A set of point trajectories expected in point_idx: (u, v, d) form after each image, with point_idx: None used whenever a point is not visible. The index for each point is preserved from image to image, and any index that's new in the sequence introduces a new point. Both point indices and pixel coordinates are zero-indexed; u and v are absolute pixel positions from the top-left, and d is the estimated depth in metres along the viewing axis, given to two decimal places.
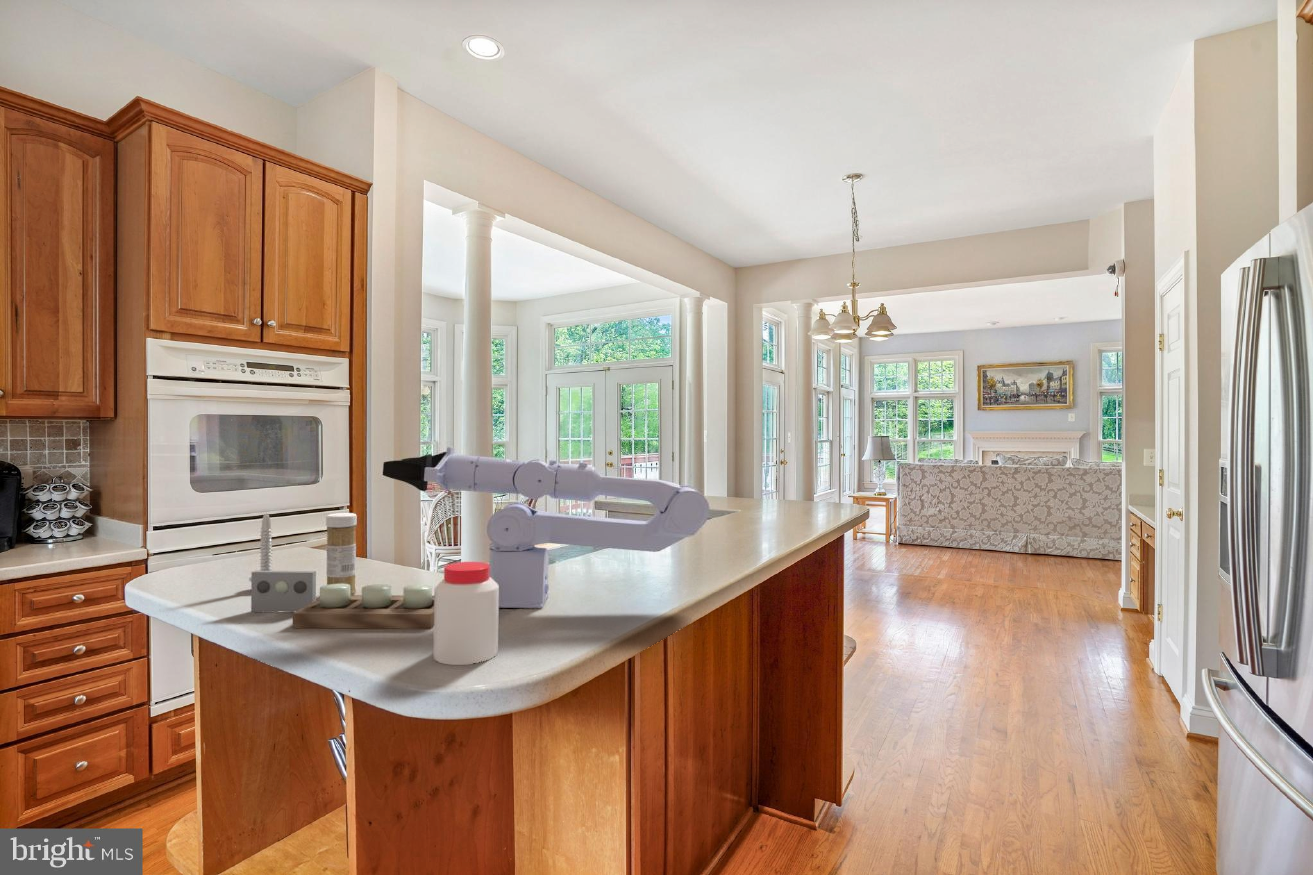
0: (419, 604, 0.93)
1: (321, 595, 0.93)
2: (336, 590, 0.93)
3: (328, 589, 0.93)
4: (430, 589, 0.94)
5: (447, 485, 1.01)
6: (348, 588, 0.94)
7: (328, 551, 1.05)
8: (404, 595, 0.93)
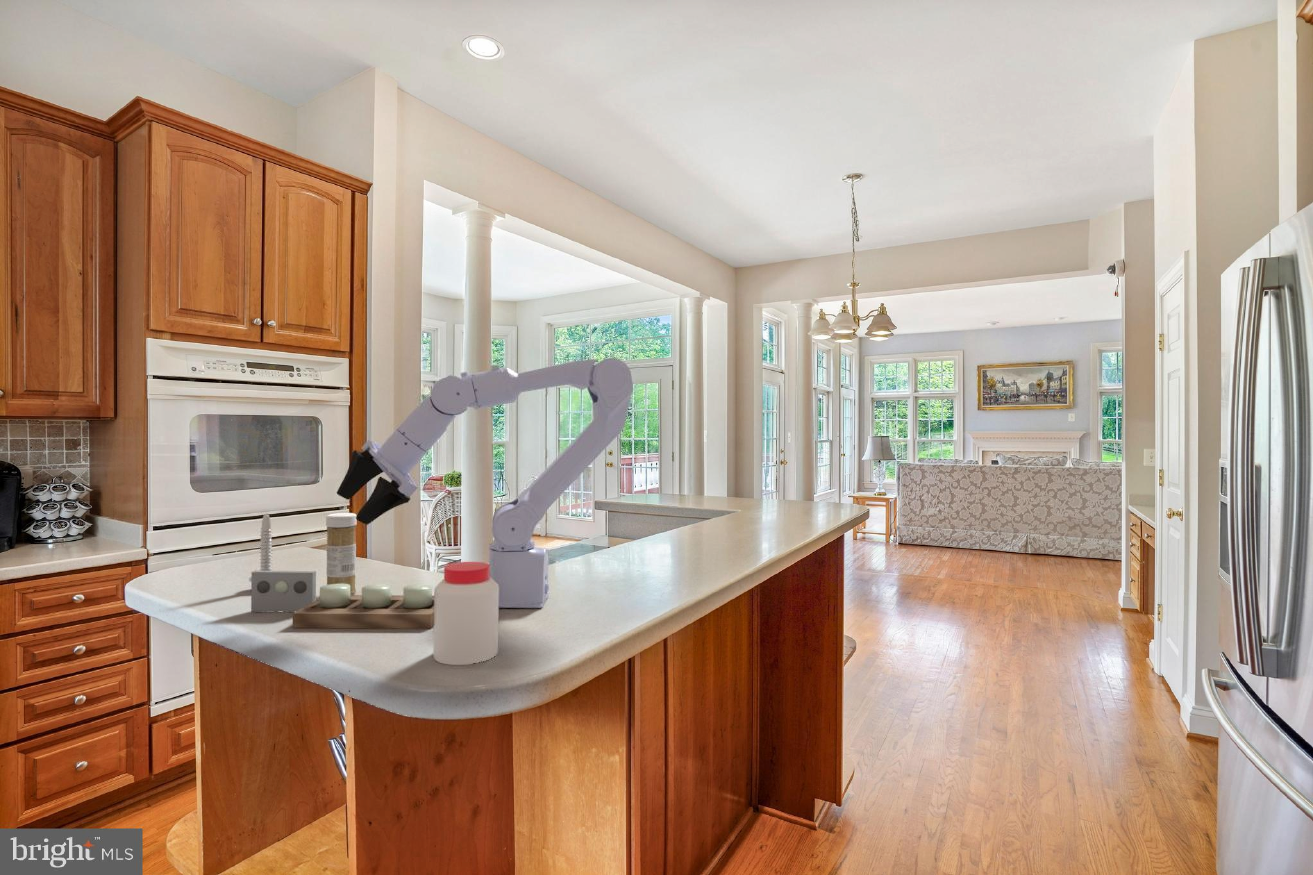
0: (419, 604, 0.93)
1: (321, 595, 0.93)
2: (336, 590, 0.93)
3: (328, 589, 0.93)
4: (430, 589, 0.94)
5: (408, 472, 1.00)
6: (348, 588, 0.94)
7: (328, 551, 1.05)
8: (404, 595, 0.93)
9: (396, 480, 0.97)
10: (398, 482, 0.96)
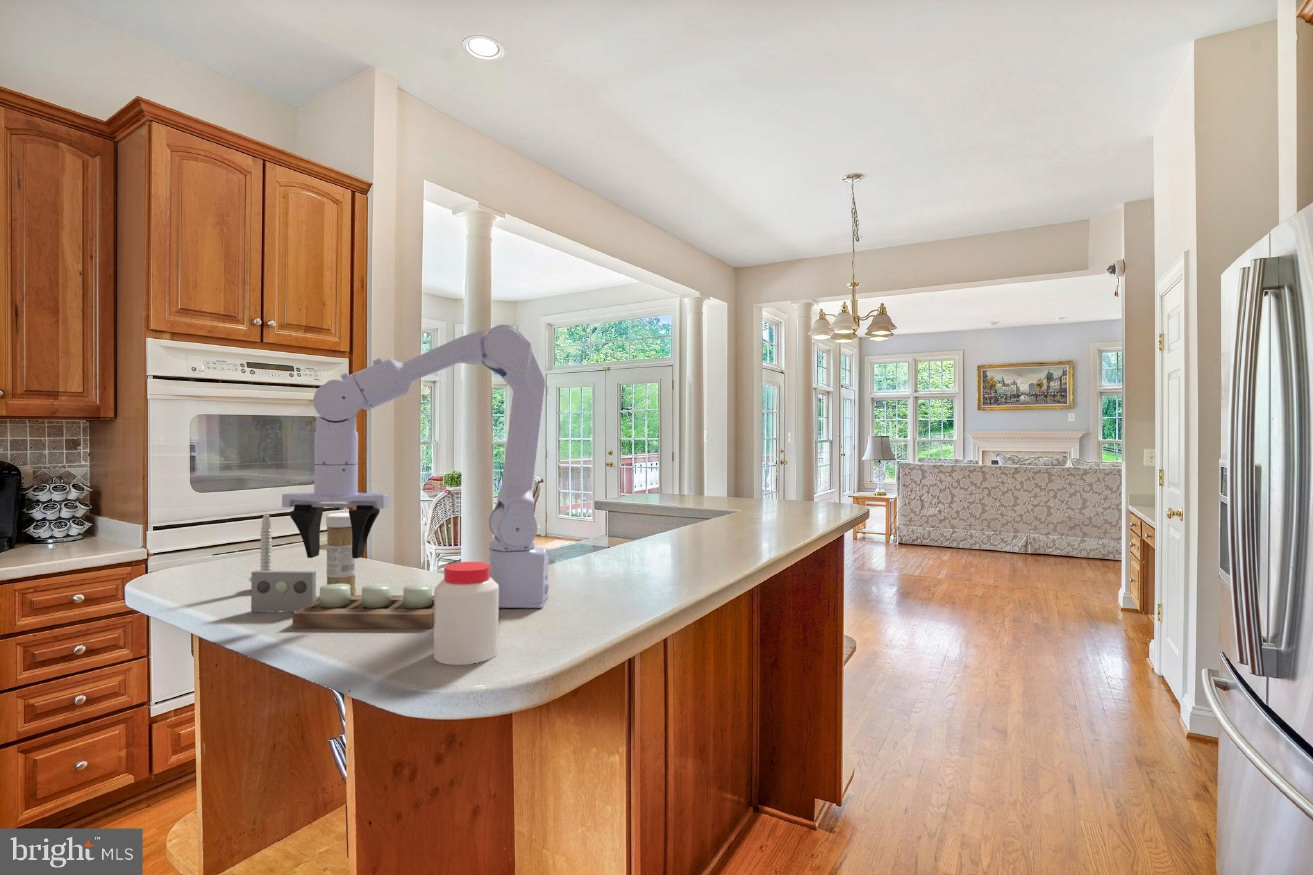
0: (419, 604, 0.93)
1: (321, 595, 0.93)
2: (336, 590, 0.93)
3: (328, 589, 0.93)
4: (430, 589, 0.94)
5: None
6: (348, 588, 0.94)
7: (328, 551, 1.05)
8: (404, 595, 0.93)
9: (362, 504, 0.94)
10: (367, 503, 0.94)
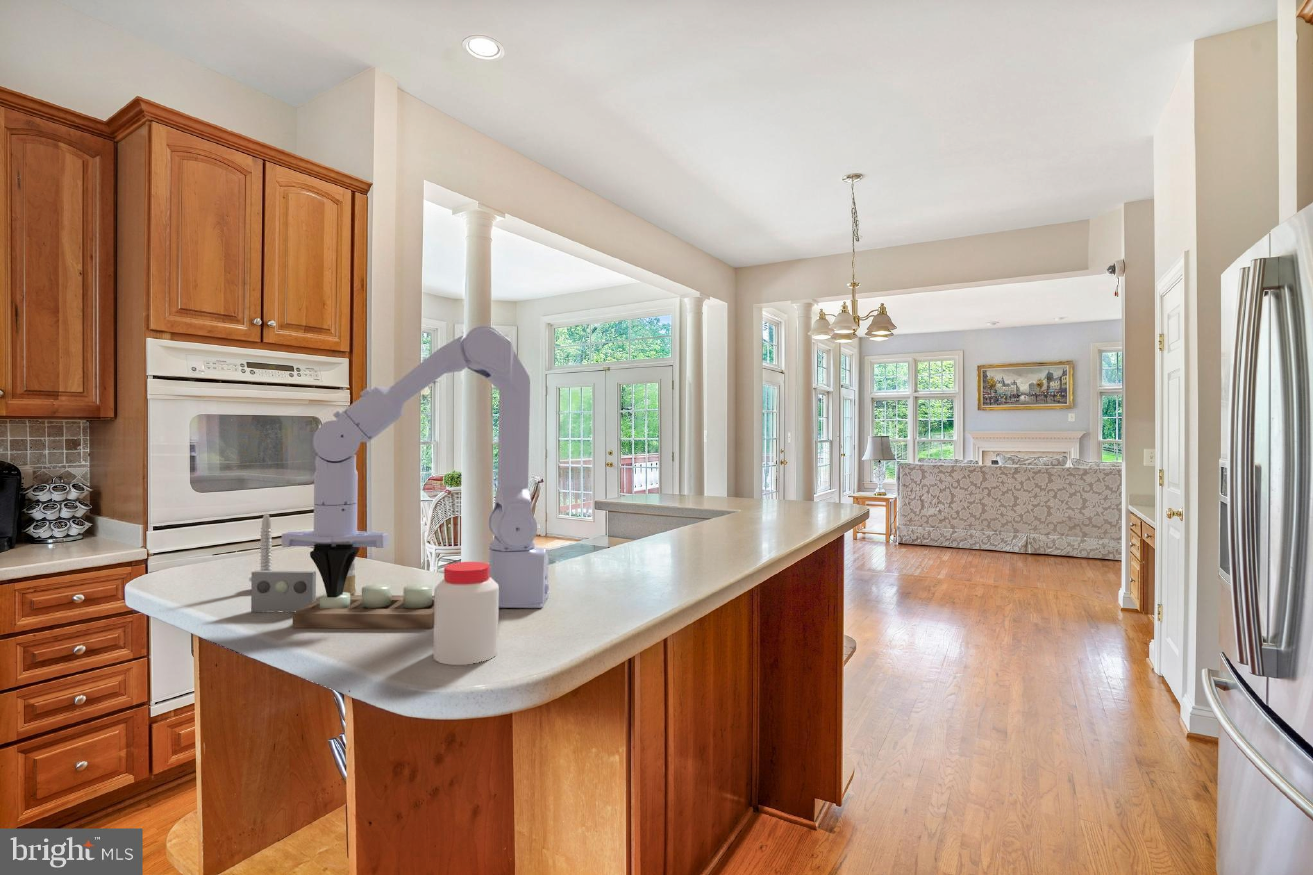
0: (419, 604, 0.93)
1: (321, 604, 0.93)
2: (336, 599, 0.93)
3: (328, 598, 0.93)
4: (430, 589, 0.94)
5: None
6: (348, 597, 0.94)
7: None
8: (404, 595, 0.93)
9: (362, 543, 0.94)
10: (366, 543, 0.94)
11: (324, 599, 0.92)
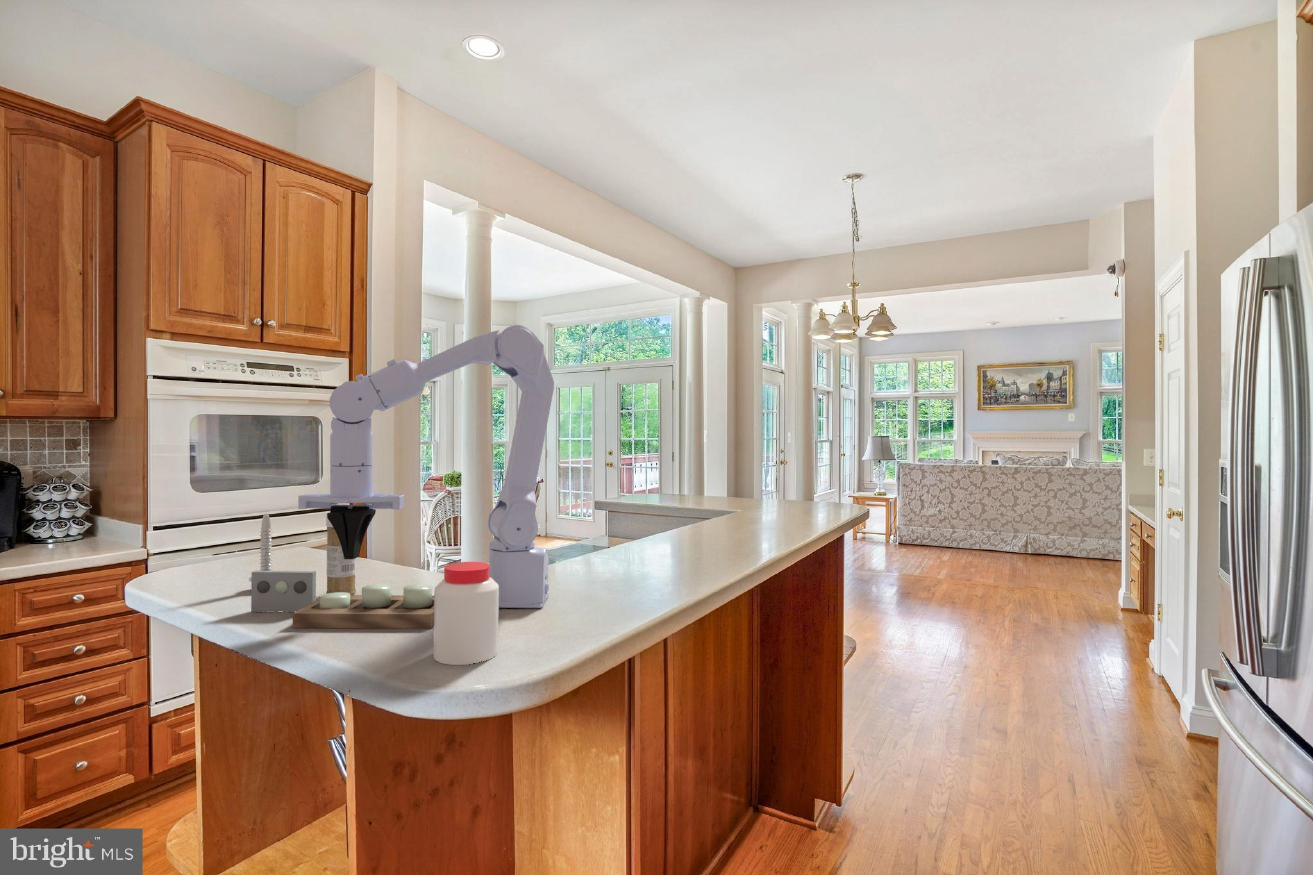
0: (419, 604, 0.93)
1: (321, 604, 0.93)
2: (336, 599, 0.93)
3: (328, 598, 0.93)
4: (430, 589, 0.94)
5: None
6: (348, 597, 0.94)
7: (328, 551, 1.05)
8: (404, 595, 0.93)
9: (378, 505, 0.94)
10: (383, 504, 0.94)
11: (324, 599, 0.92)
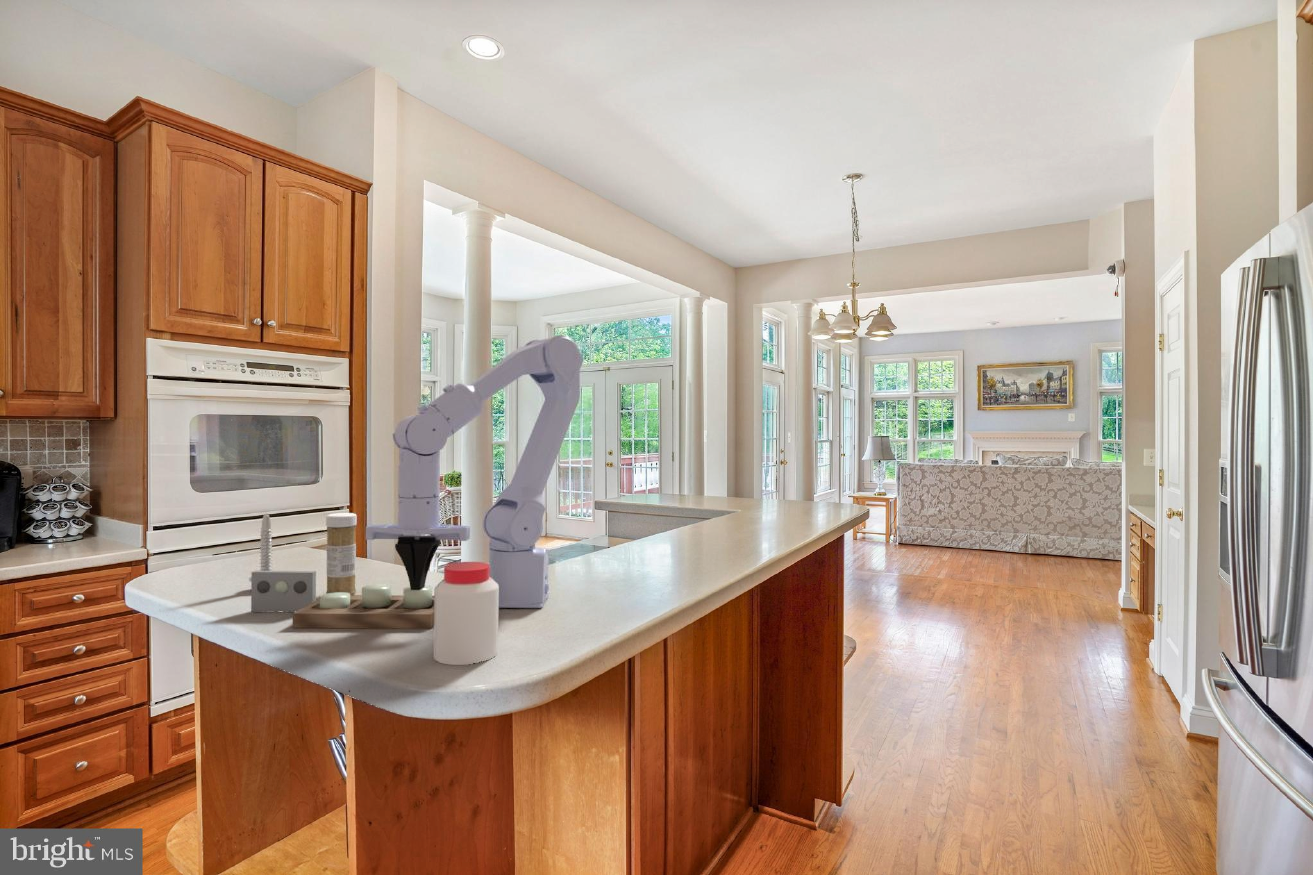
0: (419, 605, 0.93)
1: (321, 604, 0.93)
2: (336, 599, 0.93)
3: (328, 598, 0.93)
4: (430, 590, 0.94)
5: None
6: (348, 597, 0.94)
7: (328, 551, 1.05)
8: (404, 596, 0.93)
9: (445, 536, 0.94)
10: (449, 536, 0.94)
11: (324, 599, 0.92)
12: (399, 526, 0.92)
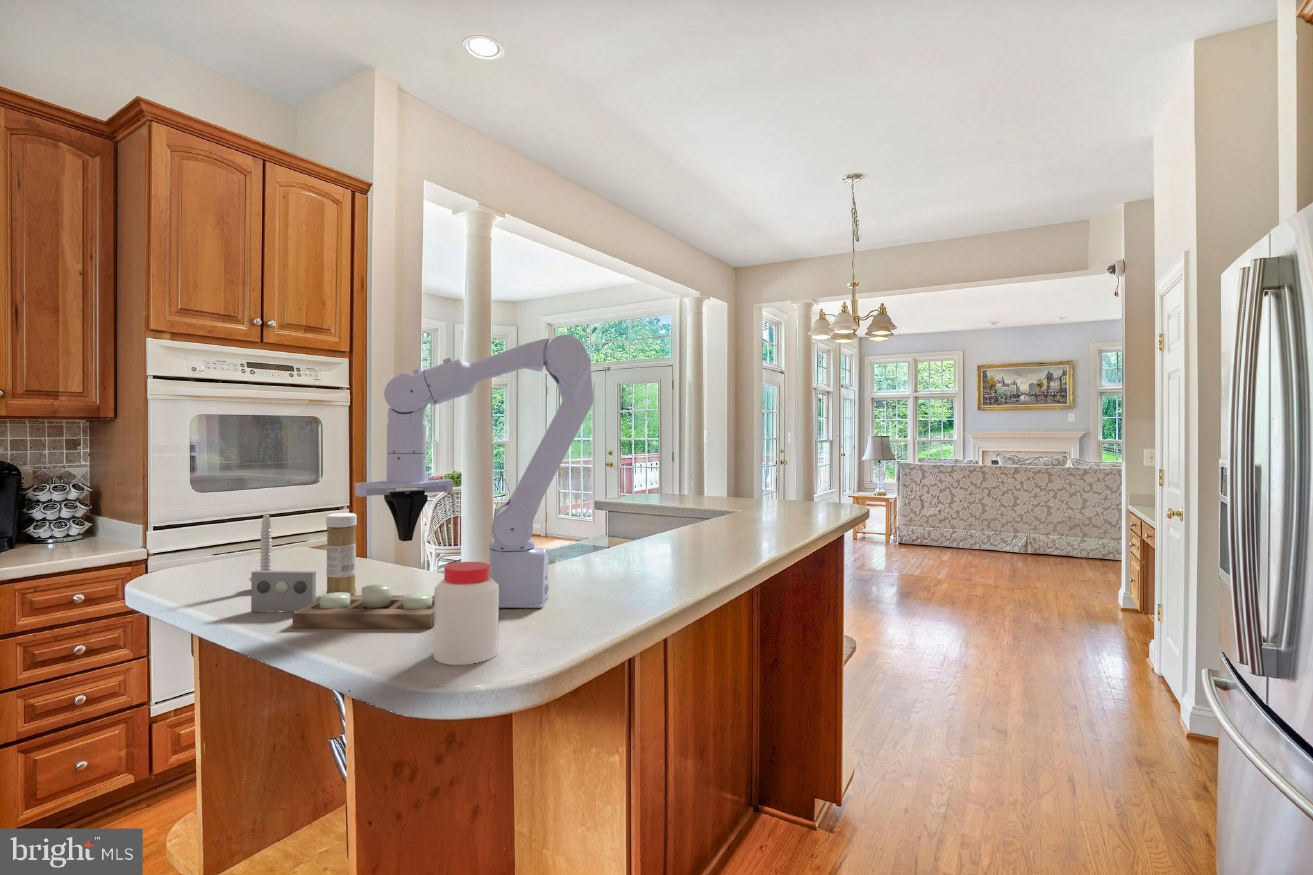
0: None
1: (321, 604, 0.93)
2: (336, 599, 0.93)
3: (328, 598, 0.93)
4: (430, 598, 0.94)
5: None
6: (348, 597, 0.94)
7: (328, 551, 1.05)
8: (404, 604, 0.93)
9: (431, 488, 1.03)
10: (435, 488, 1.03)
11: (324, 599, 0.92)
12: (397, 481, 0.97)
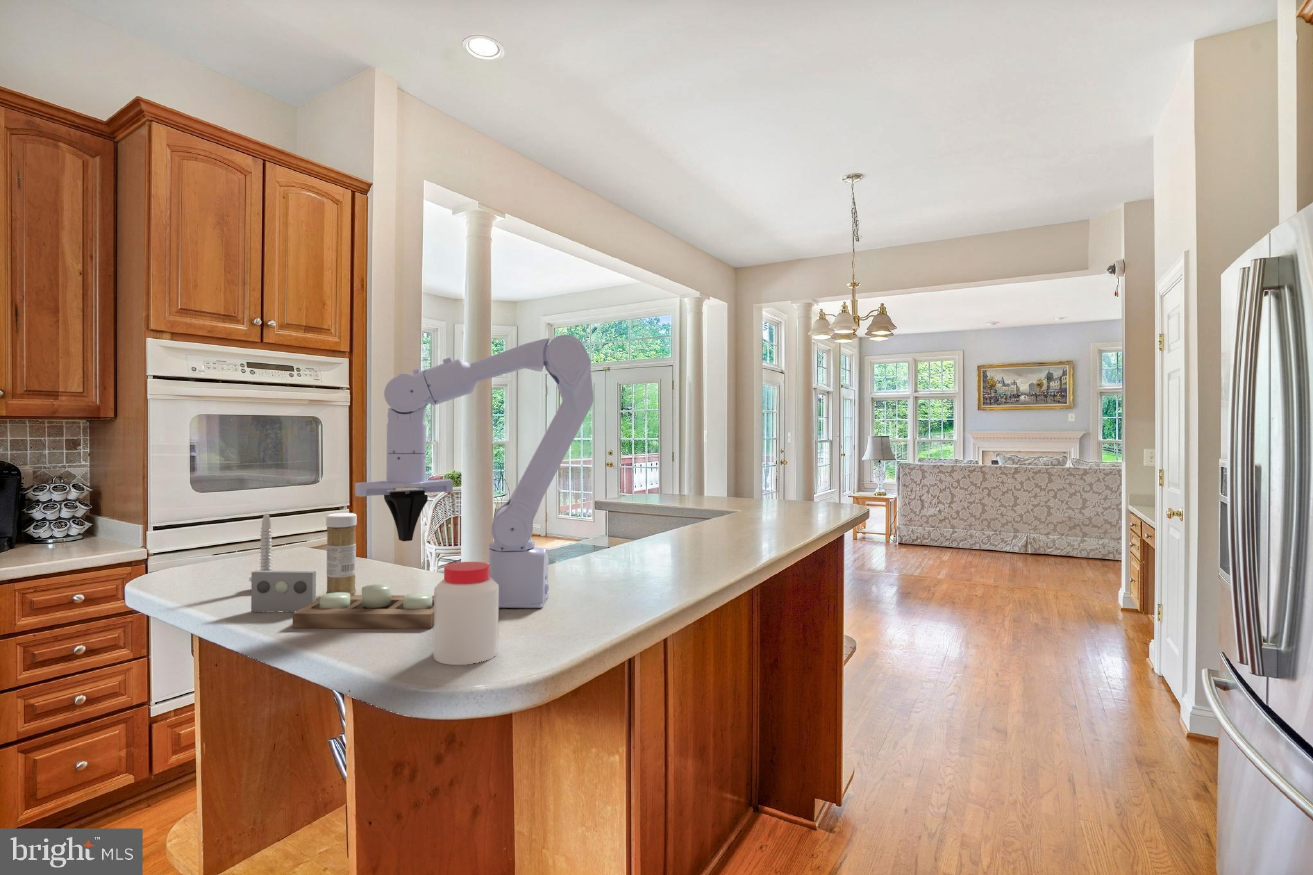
0: None
1: (321, 604, 0.93)
2: (336, 599, 0.93)
3: (328, 598, 0.93)
4: (430, 598, 0.94)
5: None
6: (348, 597, 0.94)
7: (328, 551, 1.05)
8: (404, 604, 0.93)
9: (431, 488, 1.03)
10: (435, 488, 1.03)
11: (324, 599, 0.92)
12: (397, 481, 0.97)
